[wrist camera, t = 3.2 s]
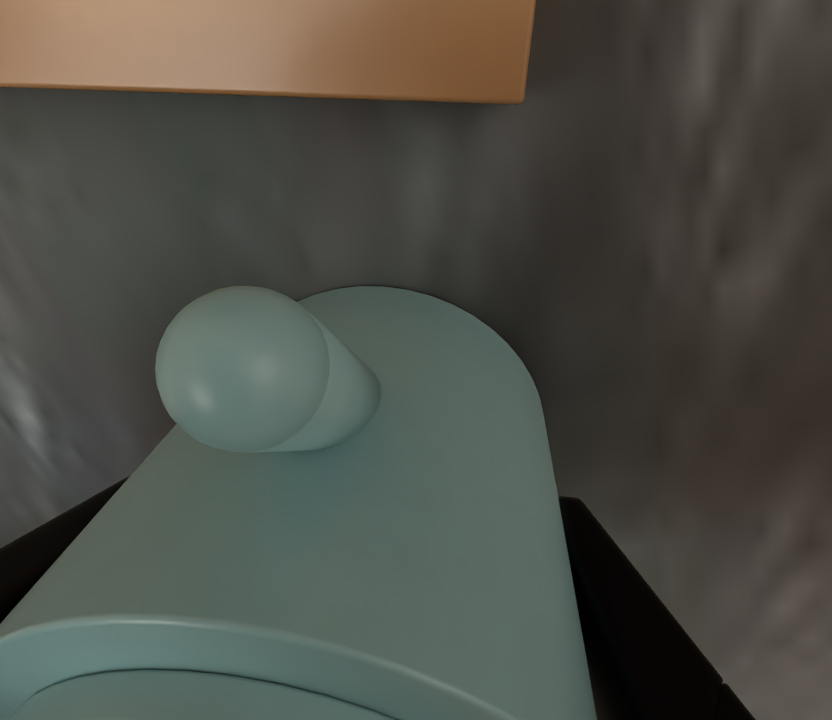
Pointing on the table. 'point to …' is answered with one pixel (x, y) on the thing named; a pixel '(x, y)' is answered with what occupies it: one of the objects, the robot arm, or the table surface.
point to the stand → (273, 47)
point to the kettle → (318, 532)
